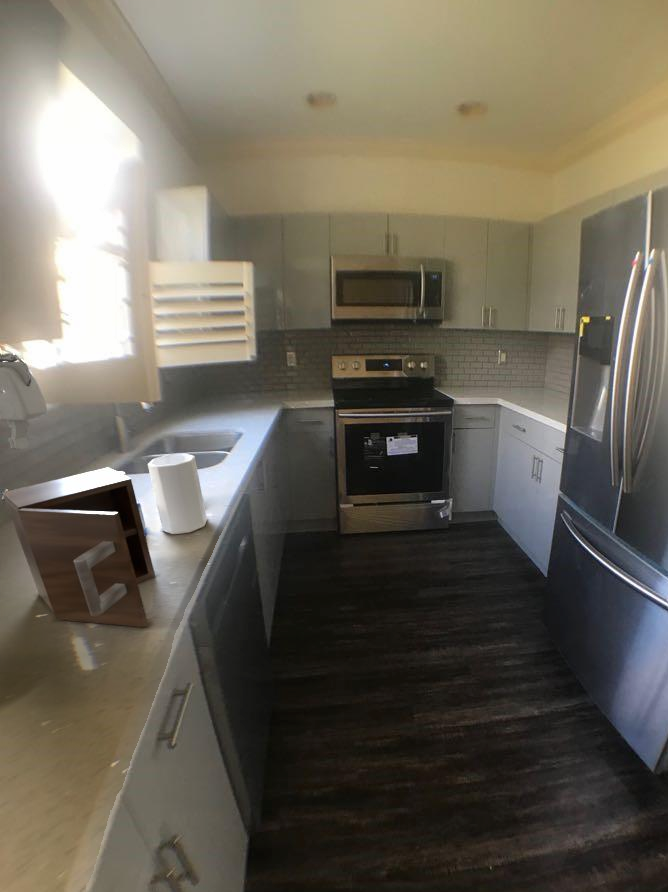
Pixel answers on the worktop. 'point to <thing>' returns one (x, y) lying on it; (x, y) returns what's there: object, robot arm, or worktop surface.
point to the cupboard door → (85, 565)
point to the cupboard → (85, 494)
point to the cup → (177, 493)
